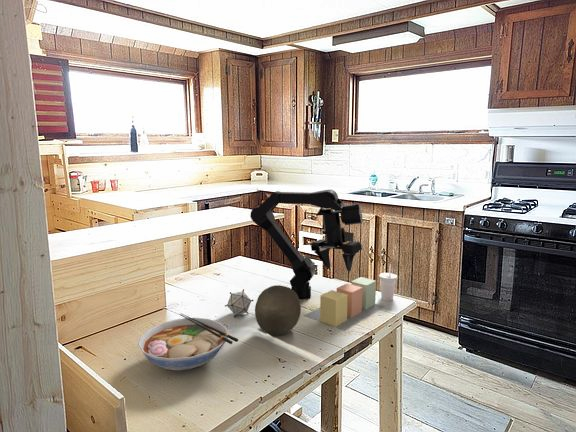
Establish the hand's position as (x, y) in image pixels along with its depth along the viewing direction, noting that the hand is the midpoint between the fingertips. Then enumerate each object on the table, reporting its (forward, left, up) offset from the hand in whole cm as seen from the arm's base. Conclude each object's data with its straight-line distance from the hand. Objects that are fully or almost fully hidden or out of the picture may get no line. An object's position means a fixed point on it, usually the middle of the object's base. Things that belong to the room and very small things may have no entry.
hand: (338, 270), depth 147 cm
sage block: (+8, -3, -11) cm, 14 cm away
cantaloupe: (-18, -26, -13) cm, 34 cm away
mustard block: (-1, -17, -11) cm, 20 cm away
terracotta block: (+4, -10, -11) cm, 15 cm away
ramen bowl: (-40, -44, -13) cm, 60 cm away
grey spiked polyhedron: (-33, -13, -13) cm, 37 cm away
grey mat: (+2, -9, -12) cm, 15 cm away
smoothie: (+17, +4, -13) cm, 22 cm away
